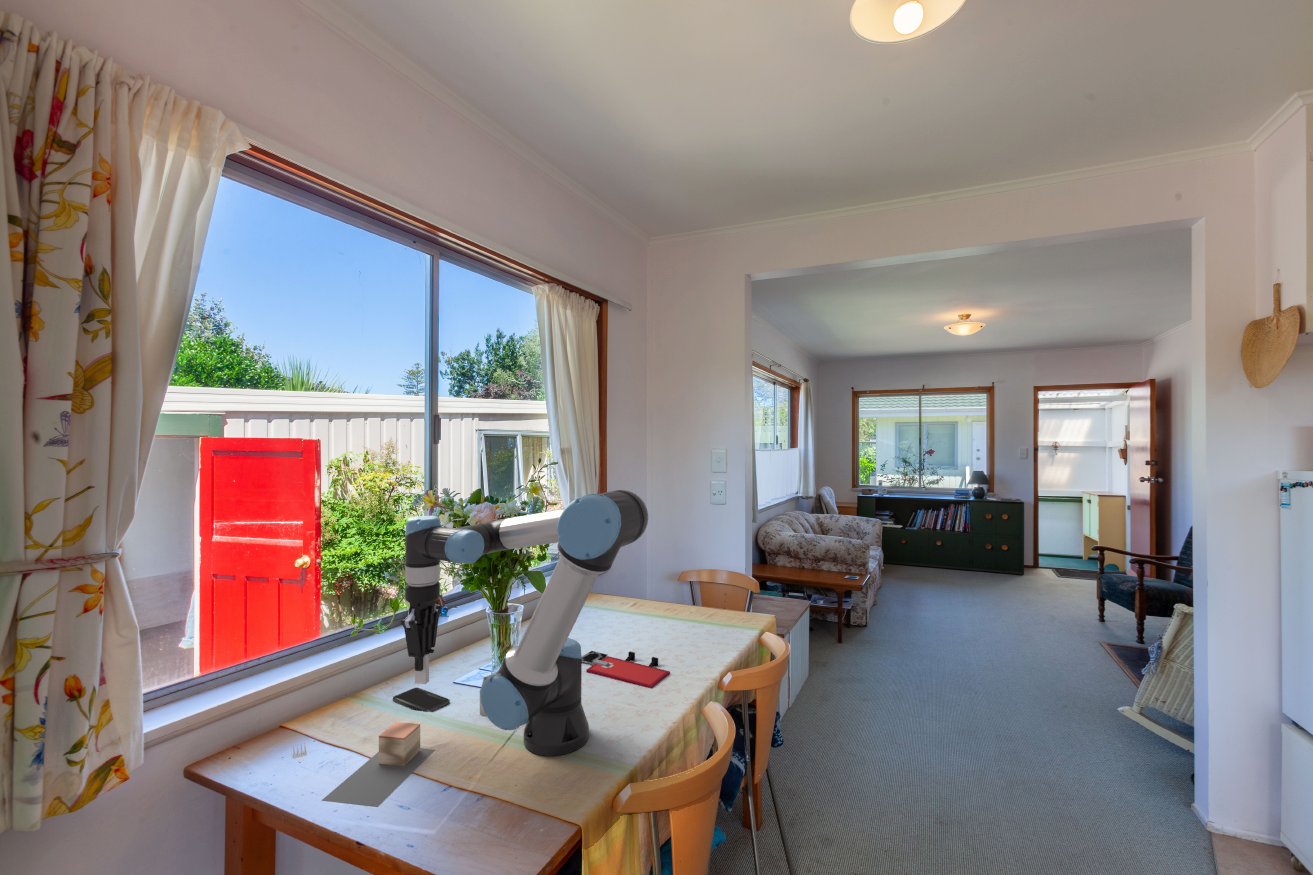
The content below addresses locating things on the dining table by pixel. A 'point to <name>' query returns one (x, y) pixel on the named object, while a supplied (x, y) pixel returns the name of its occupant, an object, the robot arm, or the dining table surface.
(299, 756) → the fork
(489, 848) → the dining table surface
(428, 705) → the phone
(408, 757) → the cube
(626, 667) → the red board with handle
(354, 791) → the mat
